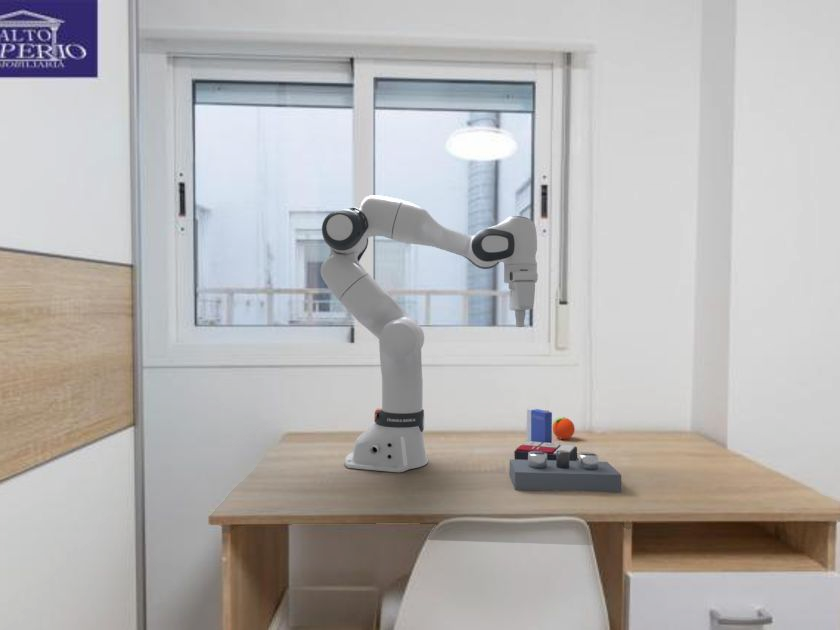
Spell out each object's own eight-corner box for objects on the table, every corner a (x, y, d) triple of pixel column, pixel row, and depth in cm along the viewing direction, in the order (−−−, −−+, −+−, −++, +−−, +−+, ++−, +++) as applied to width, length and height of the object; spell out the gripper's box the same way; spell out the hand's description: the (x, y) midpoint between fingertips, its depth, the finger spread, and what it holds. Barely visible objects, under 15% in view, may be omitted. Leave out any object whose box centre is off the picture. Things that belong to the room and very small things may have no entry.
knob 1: (529, 485, 114) (529, 455, 114) (526, 479, 119) (526, 450, 119) (548, 485, 114) (548, 455, 114) (544, 479, 118) (544, 450, 118)
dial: (557, 468, 115) (557, 453, 115) (555, 464, 118) (555, 449, 118) (570, 468, 114) (570, 453, 115) (567, 464, 118) (567, 449, 118)
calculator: (525, 439, 144) (577, 443, 137) (525, 454, 144) (577, 459, 137) (513, 448, 135) (568, 453, 127) (514, 463, 135) (569, 469, 127)
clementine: (559, 442, 154) (559, 420, 154) (545, 437, 160) (545, 416, 160) (579, 440, 157) (579, 418, 157) (564, 435, 163) (564, 414, 163)
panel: (515, 489, 112) (515, 472, 112) (509, 475, 122) (509, 459, 122) (621, 492, 110) (621, 474, 110) (606, 477, 120) (606, 461, 120)
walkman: (551, 451, 143) (552, 411, 144) (545, 452, 142) (545, 412, 142) (532, 445, 150) (533, 406, 150) (526, 446, 149) (526, 407, 149)
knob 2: (581, 486, 114) (581, 456, 114) (576, 480, 118) (576, 451, 118) (600, 487, 113) (600, 457, 113) (594, 480, 118) (594, 451, 118)
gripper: (504, 279, 143) (503, 326, 143) (513, 273, 123) (513, 327, 123) (525, 279, 143) (525, 326, 143) (539, 273, 122) (538, 327, 122)
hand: (520, 326), depth 133 cm, fingers closed
